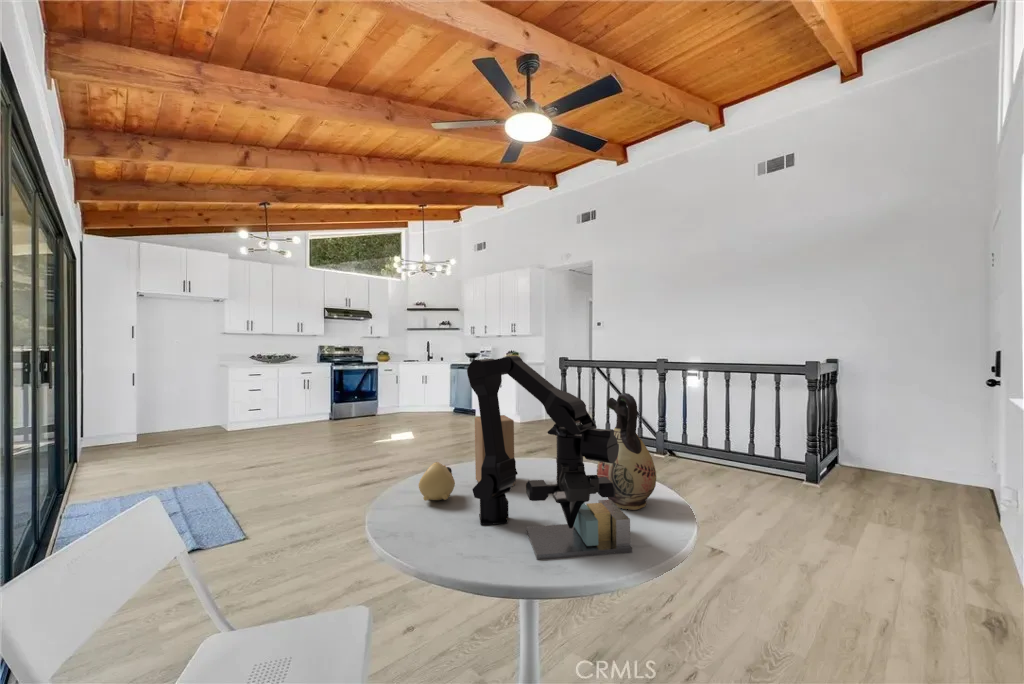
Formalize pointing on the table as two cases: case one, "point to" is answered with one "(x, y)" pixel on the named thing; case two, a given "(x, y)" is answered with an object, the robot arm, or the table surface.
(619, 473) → the ceramic jug
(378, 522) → the table surface
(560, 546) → the vise base
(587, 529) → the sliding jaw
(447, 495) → the toy pig
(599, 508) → the brass block
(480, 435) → the wooden block
